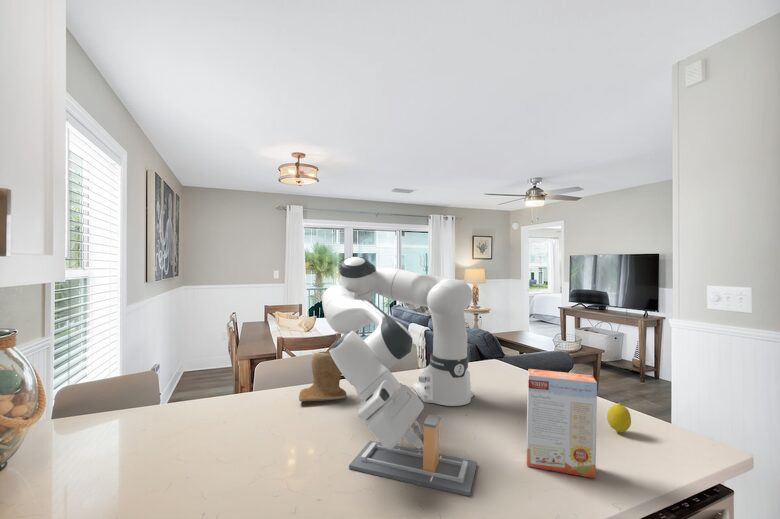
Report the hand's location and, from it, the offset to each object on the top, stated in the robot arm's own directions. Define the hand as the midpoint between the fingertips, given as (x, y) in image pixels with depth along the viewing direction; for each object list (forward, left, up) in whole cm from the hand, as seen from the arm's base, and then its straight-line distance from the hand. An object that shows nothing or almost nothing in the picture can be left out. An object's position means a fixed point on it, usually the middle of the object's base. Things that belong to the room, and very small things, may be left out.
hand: (422, 444), depth 83 cm
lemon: (+2, +59, -6) cm, 59 cm away
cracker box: (+9, +30, -6) cm, 32 cm away
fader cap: (+1, +2, -6) cm, 6 cm away
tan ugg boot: (-49, -11, -6) cm, 50 cm away
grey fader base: (-2, -1, -6) cm, 6 cm away
